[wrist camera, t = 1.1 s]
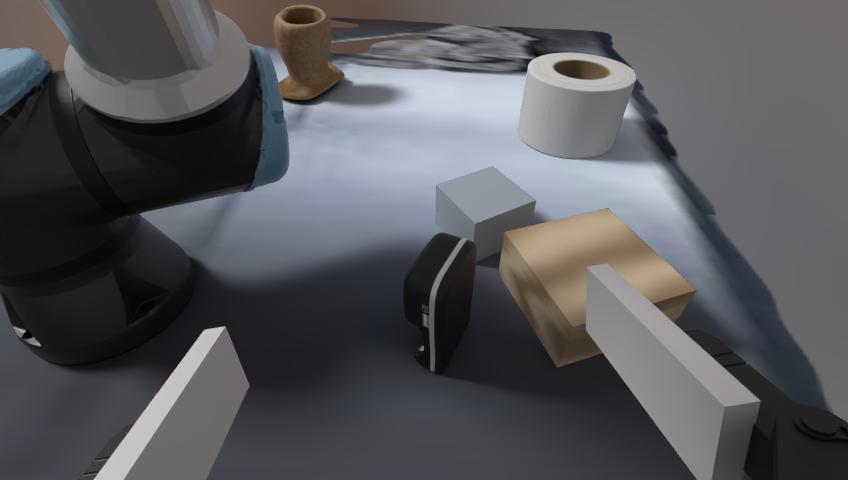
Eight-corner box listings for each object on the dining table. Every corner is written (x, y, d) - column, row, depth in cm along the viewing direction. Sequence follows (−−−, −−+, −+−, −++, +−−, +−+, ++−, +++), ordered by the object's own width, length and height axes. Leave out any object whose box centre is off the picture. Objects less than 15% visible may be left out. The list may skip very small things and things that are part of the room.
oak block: (498, 273, 44) (504, 231, 40) (592, 249, 47) (608, 207, 43) (557, 367, 36) (572, 327, 32) (669, 332, 38) (696, 290, 34)
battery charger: (436, 306, 41) (436, 218, 33) (471, 320, 40) (480, 232, 32) (402, 361, 37) (394, 275, 29) (440, 379, 35) (443, 293, 28)
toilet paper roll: (615, 121, 71) (636, 57, 63) (612, 167, 60) (637, 95, 53) (526, 109, 75) (536, 47, 68) (508, 149, 64) (518, 81, 57)
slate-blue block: (435, 224, 51) (435, 184, 47) (488, 205, 54) (492, 166, 50) (471, 264, 46) (475, 223, 42) (527, 240, 48) (536, 200, 44)
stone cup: (316, 110, 76) (298, 21, 66) (267, 99, 80) (243, 13, 70) (361, 81, 86) (351, 0, 76) (315, 73, 90) (300, -5, 80)
